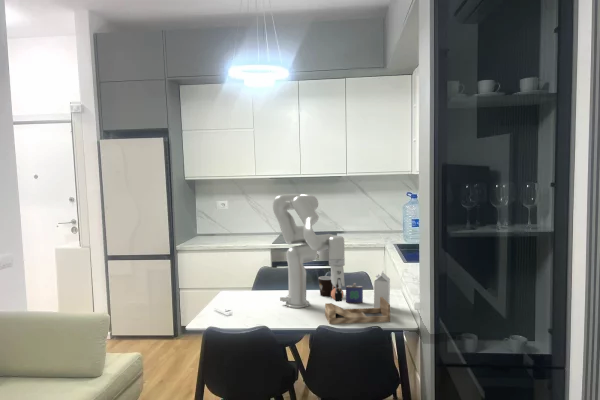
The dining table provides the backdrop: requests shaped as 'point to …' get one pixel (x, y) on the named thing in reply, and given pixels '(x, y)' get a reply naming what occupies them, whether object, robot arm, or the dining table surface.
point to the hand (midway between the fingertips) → (337, 298)
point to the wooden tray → (358, 314)
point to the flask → (354, 294)
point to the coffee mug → (325, 286)
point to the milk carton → (381, 289)
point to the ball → (334, 293)
